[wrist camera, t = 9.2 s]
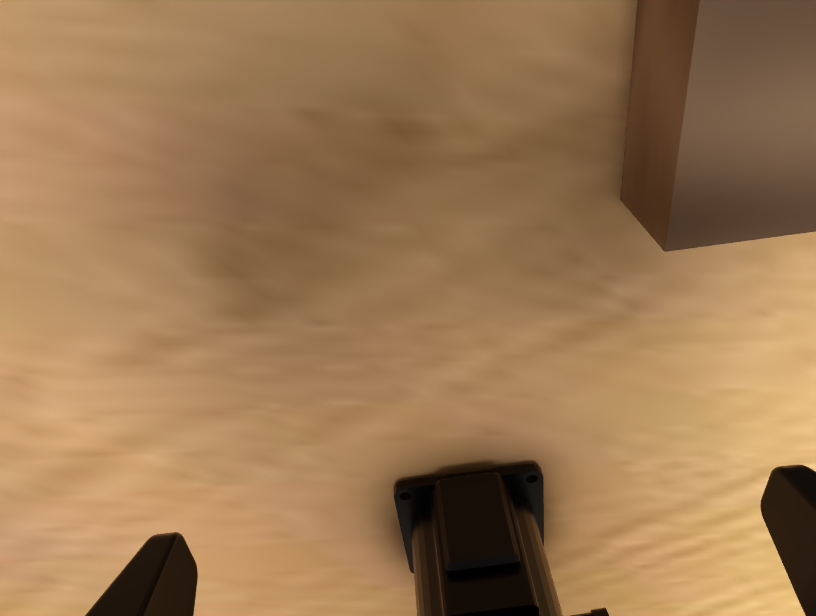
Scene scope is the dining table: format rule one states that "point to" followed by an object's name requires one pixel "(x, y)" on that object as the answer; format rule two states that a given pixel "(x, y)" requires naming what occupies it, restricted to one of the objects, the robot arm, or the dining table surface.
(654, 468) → the dining table surface
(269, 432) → the dining table surface
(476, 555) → the robot arm
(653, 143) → the walnut box
